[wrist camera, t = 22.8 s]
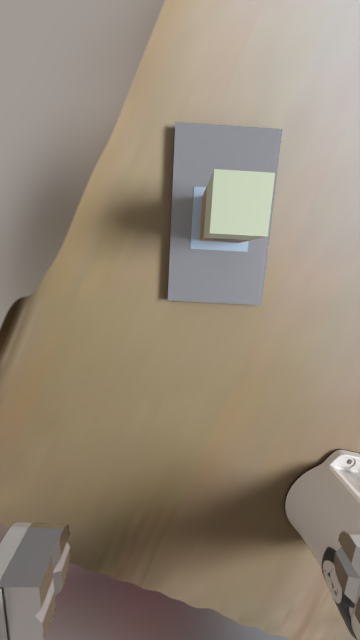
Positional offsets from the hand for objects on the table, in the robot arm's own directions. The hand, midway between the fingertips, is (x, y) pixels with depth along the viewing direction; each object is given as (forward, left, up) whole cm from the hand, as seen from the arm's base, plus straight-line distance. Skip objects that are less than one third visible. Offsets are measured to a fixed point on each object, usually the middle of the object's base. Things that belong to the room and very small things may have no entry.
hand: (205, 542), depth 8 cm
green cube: (-4, -13, -23) cm, 27 cm away
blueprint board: (-4, -13, -29) cm, 32 cm away
